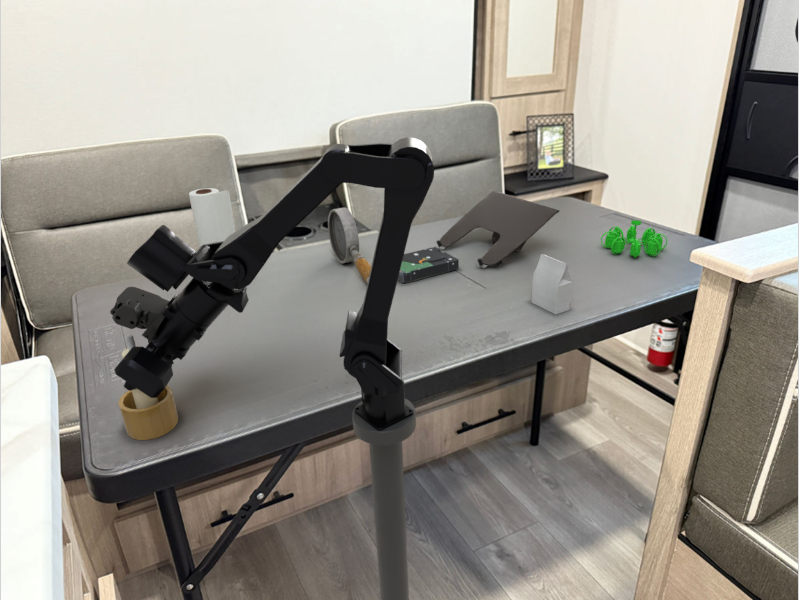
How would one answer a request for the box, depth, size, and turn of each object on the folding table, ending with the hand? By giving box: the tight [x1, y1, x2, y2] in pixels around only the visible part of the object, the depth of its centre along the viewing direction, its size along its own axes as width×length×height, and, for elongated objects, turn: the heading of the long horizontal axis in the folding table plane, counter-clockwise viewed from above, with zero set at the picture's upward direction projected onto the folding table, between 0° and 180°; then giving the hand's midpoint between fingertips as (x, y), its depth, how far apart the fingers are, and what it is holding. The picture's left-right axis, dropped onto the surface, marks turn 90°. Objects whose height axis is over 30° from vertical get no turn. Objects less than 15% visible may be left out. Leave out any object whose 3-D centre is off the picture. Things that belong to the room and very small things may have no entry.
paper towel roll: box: [188, 187, 237, 249], centre depth 131 cm, size 7×6×21 cm
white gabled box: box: [531, 253, 573, 315], centre depth 118 cm, size 4×7×10 cm, turn 31°
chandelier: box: [600, 220, 668, 259], centre depth 144 cm, size 15×15×7 cm
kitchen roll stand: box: [121, 334, 159, 409], centre depth 86 cm, size 4×4×14 cm
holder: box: [117, 384, 179, 441], centre depth 88 cm, size 7×7×5 cm
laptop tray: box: [436, 190, 560, 269], centre depth 148 cm, size 23×23×9 cm
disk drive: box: [397, 246, 460, 284], centre depth 139 cm, size 10×3×15 cm
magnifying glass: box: [327, 207, 372, 284], centre depth 139 cm, size 13×3×25 cm
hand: (131, 381), depth 86 cm, fingers closed on kitchen roll stand, 3 cm apart
